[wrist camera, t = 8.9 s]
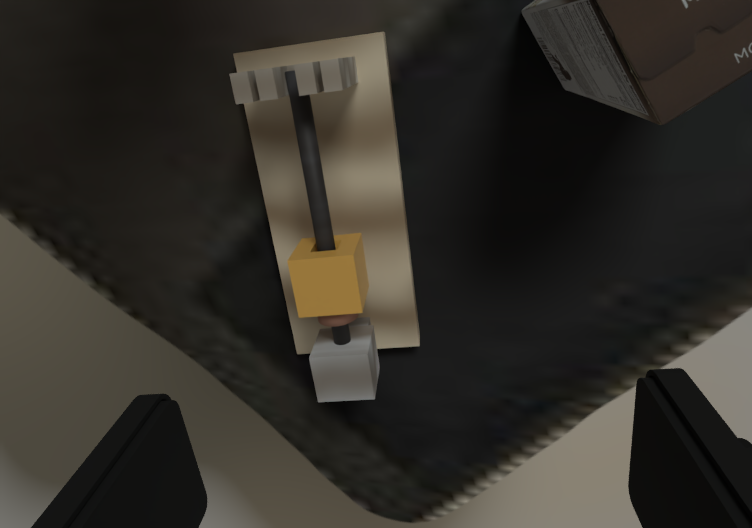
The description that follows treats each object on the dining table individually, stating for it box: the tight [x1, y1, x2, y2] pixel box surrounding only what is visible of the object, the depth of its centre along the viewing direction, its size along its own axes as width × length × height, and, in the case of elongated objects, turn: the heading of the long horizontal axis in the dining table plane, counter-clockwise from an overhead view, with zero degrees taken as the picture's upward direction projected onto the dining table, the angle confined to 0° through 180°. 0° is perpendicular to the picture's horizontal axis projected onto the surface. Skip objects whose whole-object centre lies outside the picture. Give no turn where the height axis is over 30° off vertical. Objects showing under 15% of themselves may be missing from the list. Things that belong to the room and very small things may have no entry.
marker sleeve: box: [287, 233, 369, 318], centre depth 36 cm, size 4×4×4 cm
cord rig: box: [229, 32, 420, 402], centre depth 36 cm, size 23×10×9 cm, turn 8°
